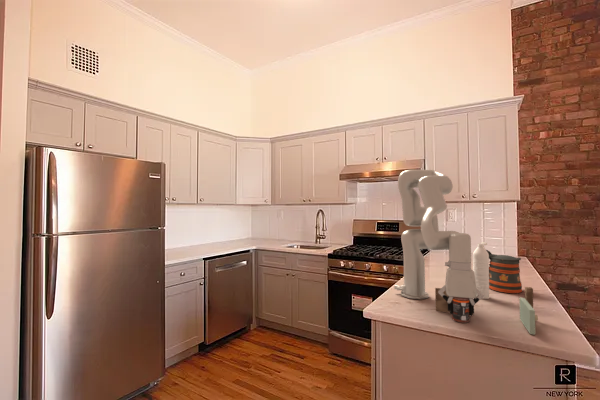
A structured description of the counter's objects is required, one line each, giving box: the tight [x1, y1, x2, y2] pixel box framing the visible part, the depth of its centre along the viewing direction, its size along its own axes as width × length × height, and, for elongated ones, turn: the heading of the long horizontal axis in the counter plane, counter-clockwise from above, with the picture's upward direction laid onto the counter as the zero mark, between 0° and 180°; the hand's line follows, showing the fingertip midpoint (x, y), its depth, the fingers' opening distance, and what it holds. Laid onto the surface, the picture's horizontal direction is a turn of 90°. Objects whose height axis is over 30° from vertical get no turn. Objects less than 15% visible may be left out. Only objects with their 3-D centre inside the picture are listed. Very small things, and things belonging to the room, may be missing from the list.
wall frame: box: [434, 286, 534, 316], centre depth 123 cm, size 34×3×12 cm, turn 71°
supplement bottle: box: [451, 297, 471, 324], centre depth 118 cm, size 6×6×11 cm
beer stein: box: [486, 249, 523, 295], centre depth 159 cm, size 19×15×20 cm
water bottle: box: [472, 242, 490, 300], centre depth 147 cm, size 9×6×25 cm
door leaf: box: [518, 297, 539, 335], centre depth 111 cm, size 15×3×8 cm, turn 155°
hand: (460, 313), depth 118 cm, fingers closed on supplement bottle, 6 cm apart
